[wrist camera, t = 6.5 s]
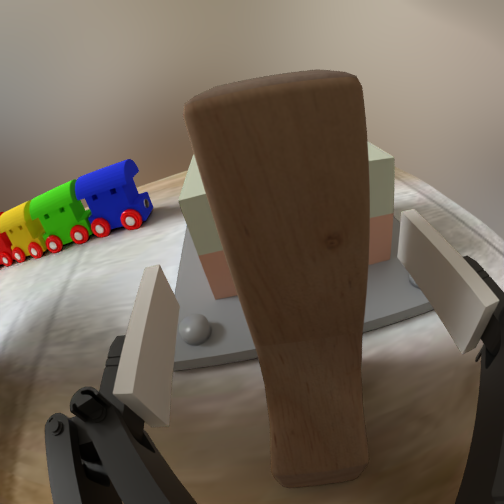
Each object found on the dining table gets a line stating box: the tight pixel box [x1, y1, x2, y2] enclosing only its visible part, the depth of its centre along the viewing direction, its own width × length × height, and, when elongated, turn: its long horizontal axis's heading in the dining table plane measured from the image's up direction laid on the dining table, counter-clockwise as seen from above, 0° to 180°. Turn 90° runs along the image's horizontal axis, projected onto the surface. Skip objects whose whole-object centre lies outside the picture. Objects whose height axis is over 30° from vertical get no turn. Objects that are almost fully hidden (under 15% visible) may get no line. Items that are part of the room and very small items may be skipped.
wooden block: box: [183, 70, 370, 488], centre depth 11 cm, size 9×4×18 cm, turn 178°
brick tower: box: [173, 141, 433, 371], centre depth 28 cm, size 24×24×11 cm
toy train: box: [0, 159, 153, 267], centre depth 44 cm, size 45×7×11 cm, turn 95°
